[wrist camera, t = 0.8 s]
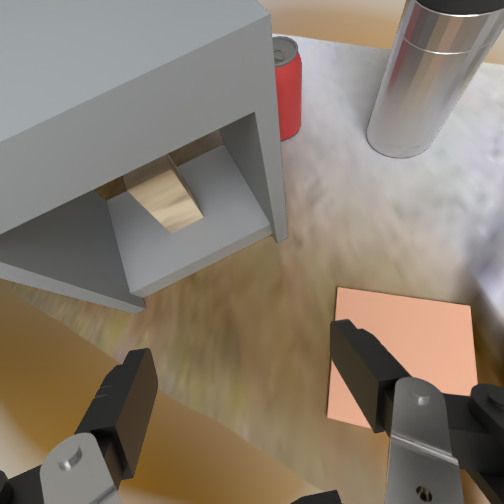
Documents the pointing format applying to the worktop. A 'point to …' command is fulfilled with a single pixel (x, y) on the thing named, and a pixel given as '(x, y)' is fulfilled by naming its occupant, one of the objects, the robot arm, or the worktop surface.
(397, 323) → the terracotta mat
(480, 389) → the robot arm
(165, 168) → the maple block
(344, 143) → the worktop surface
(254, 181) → the box
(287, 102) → the beer can
